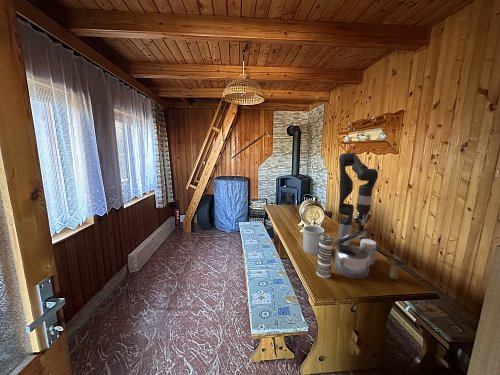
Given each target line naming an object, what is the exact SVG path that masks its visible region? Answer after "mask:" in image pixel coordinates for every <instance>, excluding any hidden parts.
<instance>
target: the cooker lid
mask: <svg viewBox="0 0 500 375" xmlns="http://www.w3.org/2000/svg"><path fill="white" fill-rule="evenodd" d="M351 233H352V232H351ZM351 233H350V234H347V235H345V237H343V238H340V239H338V238H337V240H334V241H333V245H334V246H338V245H341V244H345V243H348V242H351V243H352V242H353V241H356V240H358V239H360V238H362V237H364V236H366V235H367V234H368V229H363V230H361V231H359V230H358V231H356V232H353V233H352V234H351Z"/></svg>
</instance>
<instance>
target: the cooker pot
mask: <svg viewBox="0 0 500 375" xmlns="http://www.w3.org/2000/svg"><path fill="white" fill-rule="evenodd" d="M335 246H336V248H335V253H334V254H335V255H334V265H333V267H334V270H335V271H336V272H337V273H338V274H340V275H341V276H344V277H347V278H350V279H355V280H357V279H358V280H362V279H366V278H368V276H369V273H370V266H371V265H370V259H371V255H370V253H369V252H367V251H366V250H364V249H362V248H360V246H355V245H352V244H350V245H335Z"/></svg>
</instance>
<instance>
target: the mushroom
mask: <svg viewBox="0 0 500 375" xmlns="http://www.w3.org/2000/svg"><path fill="white" fill-rule="evenodd" d="M386 259H387V261H388V262H389V263H391V265H390V267H389V279H391V280H392V281H395V282H396V281H397V280H398V277H399V275H398V273H397V272H398V270H399V267H400V268H406V267H407V262H406V261H405V260H404V259H403V258H401V257H399V255H396V254H388V255H387V257H386Z"/></svg>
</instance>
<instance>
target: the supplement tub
mask: <svg viewBox="0 0 500 375" xmlns="http://www.w3.org/2000/svg"><path fill="white" fill-rule="evenodd" d="M359 248H362V249H364V250H366V251H367V252H369V253H370V255H371V259H370V266H371V265H373V264H375V258H376V252H377V241H375V240H372V239H370V238H362V239H360V245H359Z"/></svg>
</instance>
